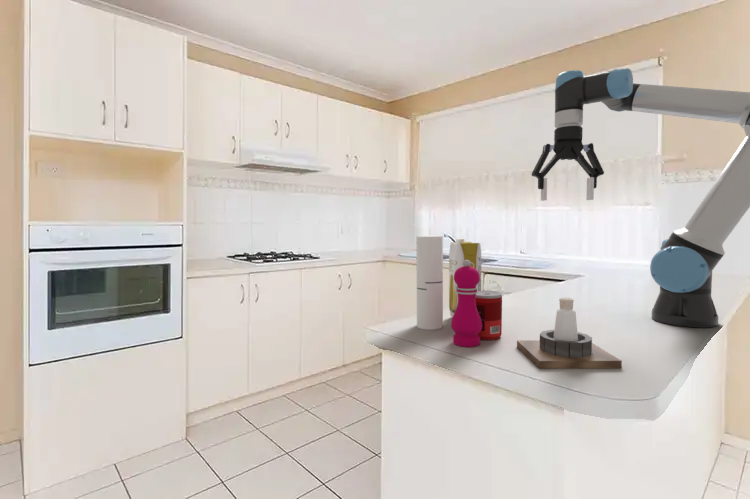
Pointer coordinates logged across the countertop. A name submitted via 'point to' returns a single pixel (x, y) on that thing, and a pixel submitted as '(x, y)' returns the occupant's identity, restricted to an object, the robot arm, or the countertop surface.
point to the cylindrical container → (430, 282)
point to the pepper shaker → (566, 321)
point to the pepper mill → (466, 307)
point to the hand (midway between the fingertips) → (566, 200)
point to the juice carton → (456, 258)
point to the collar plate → (565, 361)
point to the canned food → (490, 314)
